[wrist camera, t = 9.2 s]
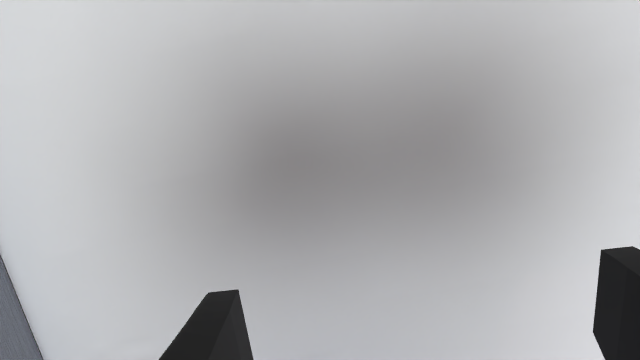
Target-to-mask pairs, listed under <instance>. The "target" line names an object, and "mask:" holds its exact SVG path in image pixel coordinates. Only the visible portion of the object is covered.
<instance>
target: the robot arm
mask: <svg viewBox="0 0 640 360" xmlns="http://www.w3.org/2000/svg"><path fill="white" fill-rule="evenodd" d="M593 333H594V336H595V338H596V340H597V342H598V345H599V347H600V349H601V351H602V354H603V356H604V358H605V360H640V250H639V249H637V248H635V247H633V246H632V247H622V248H613V249H604V250H601V256H600V266H599V276H598V287H597V297H596V307H595V317H594V327H593ZM159 360H253V356H252V351H251V347H250V342H249V337H248V333H247V328H246V323H245V319H244V314H243V309H242V305H241V300H240V295H239V291H238V290H229V291H220V292H210V293H208V294H207V295H206V296H205V297H204V299H203V300H202V301H201V303H200V304H199V305H198V307H197V308H196V310H195V311H194V313H193V314H192V315H191V317H190V318H189V320H188V321H187V322H186V324H185V325H184V327H183V328H182V329H181V331H180V332H179V334H178V335H177V336H176V338H175V339H174V340H173V342H172V343H171V344H170V346H169V347H168V348H167V350H166V351H165V352H164V354H163V355H162V356H161V357H160V359H159Z"/></svg>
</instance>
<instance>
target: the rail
mask: <svg viewBox="0 0 640 360" xmlns="http://www.w3.org/2000/svg"><path fill="white" fill-rule="evenodd" d="M0 360H43V359H42V357H41V354H40V352H39V349H38V347H37V345H36V342H35V340H34V337H33V335H32V332H31V330H30V327H29V325H28V323H27V320H26V318H25V315H24V313H23V310H22V308H21V306H20V303H19V301H18V298H17V296H16V293H15V291H14V288H13V286H12V284H11V281H10V279H9V276H8V274H7V271H6V269H5V267H4V264H3V262H2V259H1V257H0Z"/></svg>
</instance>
